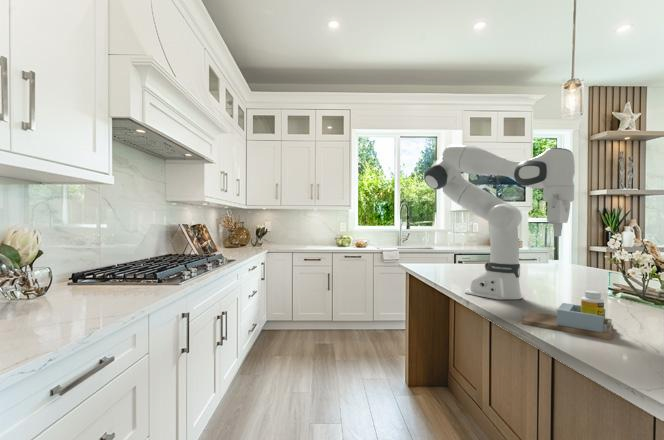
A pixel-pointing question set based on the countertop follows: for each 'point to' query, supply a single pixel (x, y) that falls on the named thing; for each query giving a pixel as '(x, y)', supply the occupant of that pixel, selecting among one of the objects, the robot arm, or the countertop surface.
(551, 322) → the board
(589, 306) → the supplement bottle
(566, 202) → the robot arm
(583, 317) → the box
